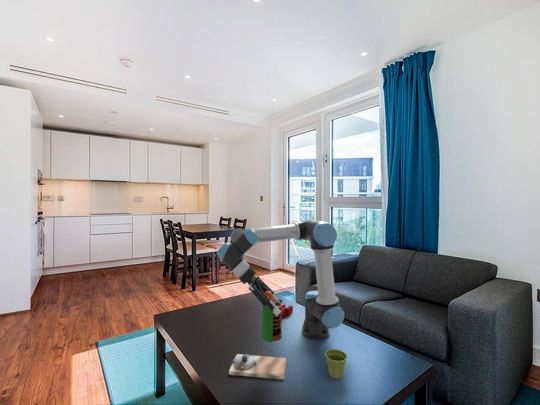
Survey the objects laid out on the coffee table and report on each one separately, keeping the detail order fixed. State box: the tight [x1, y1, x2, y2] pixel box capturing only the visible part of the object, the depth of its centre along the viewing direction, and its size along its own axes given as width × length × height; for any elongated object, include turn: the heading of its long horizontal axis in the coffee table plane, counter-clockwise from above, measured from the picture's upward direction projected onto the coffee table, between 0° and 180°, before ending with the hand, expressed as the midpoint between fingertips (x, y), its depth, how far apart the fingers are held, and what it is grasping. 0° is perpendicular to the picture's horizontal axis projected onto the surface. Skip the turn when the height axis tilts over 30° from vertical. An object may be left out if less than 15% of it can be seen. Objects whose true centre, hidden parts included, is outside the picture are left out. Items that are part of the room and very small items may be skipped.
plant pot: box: [324, 348, 348, 380], centre depth 120 cm, size 9×9×9 cm
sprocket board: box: [228, 353, 287, 380], centre depth 125 cm, size 24×13×4 cm, turn 82°
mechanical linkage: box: [282, 303, 294, 320], centre depth 179 cm, size 16×7×5 cm, turn 156°
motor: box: [261, 291, 283, 343], centre depth 124 cm, size 10×9×20 cm
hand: (279, 310), depth 123 cm, fingers closed on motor, 7 cm apart
